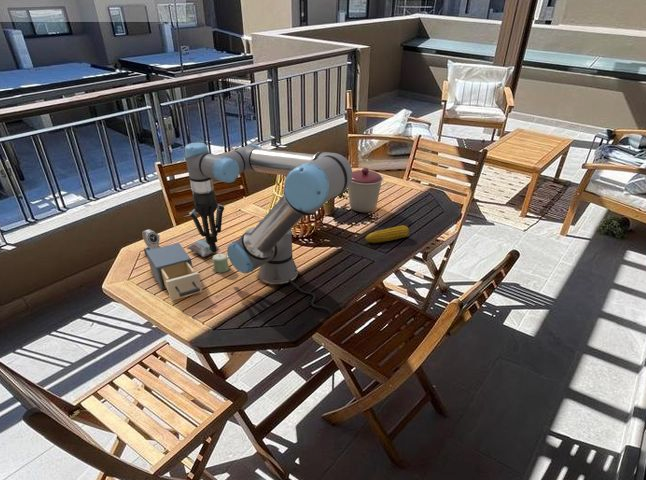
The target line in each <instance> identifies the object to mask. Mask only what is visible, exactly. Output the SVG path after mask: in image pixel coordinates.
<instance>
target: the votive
mask: <svg viewBox="0 0 646 480" xmlns="http://www.w3.org/2000/svg"><path fill="white" fill-rule="evenodd" d="M228 259H229V258H228V254H226V253H216V254H214V255H212V263H213V270H214V272H216V273H220V274H221V273H226V272H228V271H229V270H230V267H229V261H228Z"/></svg>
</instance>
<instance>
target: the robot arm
mask: <svg viewBox="0 0 646 480" xmlns="http://www.w3.org/2000/svg"><path fill="white" fill-rule="evenodd" d="M184 156H185V158H184V160H185V162H186V167H187V172H188V178H189V183H190V188H191V191H192V192H191V193H192V199H193V204H194V205H193V209H192V211H188V213H187V214H188V215H189V217H191V219H192V221H193V223H194V225H195V227H196V229H197V231H198V233H199V235H200V236H201V237H203V238H204V239H206V242H207V244H208V245H209V246H210V250H211V251H212V252H213V254H215V253H218V251H217V250H216V246H217V245H216V243H218V234H219V233H221V232H222V225H223V224H222V222H223V213H224V210H225V206H224V205H223V204H219V203H218V201H217V199H216V193H215V192H216V191H215V190H214V189H215V185H214V180H216V181H218V182H223V183H230V184H231V183H234V182H235V181H236V179H238V177H239V175H240V174H242V173H246V172H249V171H250V172H259V173H265V174H273V175H277V176H278V175H279V176H285V178H284V179H285V180H284V184H283V192H282V193H283V195H282V196H281V197H280V199H279V200H277V202H276V203H275V204H274V206H272V208H271V209H270V210H269V211H268V212H267V214H266V215H264V217H263V218H262V219H260V220H259V221H258V222H259V223H257V225H256V226H255V227H253V226H252V227H250V228H248V229H247V230H246V231H245V232H244V233H243V234H242V235H241V237H239V238H238V239H236V240H235V241H232V242H231V243H230V244H228V246H227V249H226V253H227V254H226V255H227V258H228V259H229V262H230V263H231V265H232V266H233V267H234V269H236V271H238V272H240V273H241V274H243V275H246V274H247V275H248V274H250V273H253V272H254V271H255V270H257V269H258V268H259V270H258V279H259V281H260V282H261V283H263V284H265V285H268V286H271V287H282V286H287V285H290V284H291V285H292V286H293V287H295V289H297V290H298V291H299V292H300V293H302V294H305V295H309V296H312V299H311V301H310V306H312V308H315V309H320V310H321V309H322V310H325V311H327V312H328V313H329V314H330V315H332V314H333V312H332V310H331V309H330V308H329V307H326V306H323V305H316V304H314V302H315V301H316V294H315V293H314V292H310V291H305V290H303V289H302V288H301V287H299V286H298V285H297V284H296V283H295V281H296V280H297V279H298V277H299V270H298V267H297V264H296V263H295V260H294V258H293V236H292V234H293V231H292V229H294V227H295V226H296V225H297V224H298V223H299V222H300V221H301V220H302V219H303V218H304V217H309V216H312V215H314V214H316V213H317V211H319V209H320V208H322V207H323V206H324V205H325V204H326V203H327V202H328V201H330V200H332V199H334V198H335V197H337V196H339V195H341V194H343V193H344V192H345V191H347V189H348V187H349V185H350V183H351V181H352V172H353V169H352V164H351V163H350V162H349V160H348V159H347V158H346V157H345V156H343V155H342V154H340V153H336V152H328V151H327V152H326V151H318V152H316V153H315V154H314V153H304V152H294V151H285V150H277V149H268V148H267V149H266V148H263V147H261V146H259V145H258V144H256V143H255V144H253V143H252V144H247V145H245V146H242V147H239V148H237V149H234V150H230V151H227V152H224V153H221V154H215V153H212V152H211V153H210V152H209V148H208V145H207V144H206V143H204V142H191V143H188V144H186V145H184ZM198 215H199V216H200V218H201V223H202V225H201V223H200V220H199V219H198V217H197V216H198ZM214 252H215V253H214ZM335 374H336V373H335V370H333V371H332V373H331V391H335Z"/></svg>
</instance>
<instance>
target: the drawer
mask: <svg viewBox="0 0 646 480" xmlns="http://www.w3.org/2000/svg"><path fill="white" fill-rule="evenodd" d="M192 267H193V266H192ZM192 267H191V266H190V264H189V263H188V262H183V263H179V264H175V265H171V266H167V267H164V268H160V269H159V271H160V275H161V279H162V282H163V284H164V285H165V287H166V290H167V292H168V296H169V299H170V301H175V300H179V299H181V298H185V297H189V296H192V295H196V294H200V293H202V292H203V287H202V282H201V278H200V273H199V272H198V271H197V272H196V271H195V270H194V267H193V268H192Z"/></svg>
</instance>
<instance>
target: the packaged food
mask: <svg viewBox="0 0 646 480" xmlns="http://www.w3.org/2000/svg"><path fill="white" fill-rule="evenodd" d="M186 249H188V250H190V251H191V252H194V253H196V254H198V255H199V256H200V257H203V258H205V257H208V256H210V255H213V254H215V253H216V252H214V253H213V252H212V251H211V250H210V246H209V245H208V244H207V242H206V238H201V239H198V240H196V241H194V242H193V243H191V244H190V245H189V246H186ZM216 250H217V252H219V251H220V250H221V249H220V248H219V247H218V245H216Z"/></svg>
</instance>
